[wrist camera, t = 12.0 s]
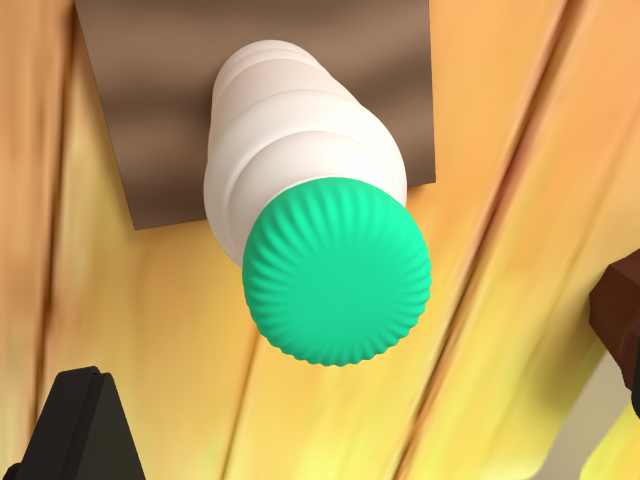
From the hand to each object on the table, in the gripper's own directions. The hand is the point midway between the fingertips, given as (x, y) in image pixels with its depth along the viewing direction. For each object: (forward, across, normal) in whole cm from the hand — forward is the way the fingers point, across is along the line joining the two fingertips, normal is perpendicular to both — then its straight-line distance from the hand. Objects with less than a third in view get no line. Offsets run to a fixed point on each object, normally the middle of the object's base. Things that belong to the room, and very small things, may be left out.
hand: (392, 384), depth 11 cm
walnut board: (+31, 0, +1) cm, 31 cm away
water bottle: (+29, 0, +1) cm, 29 cm away
